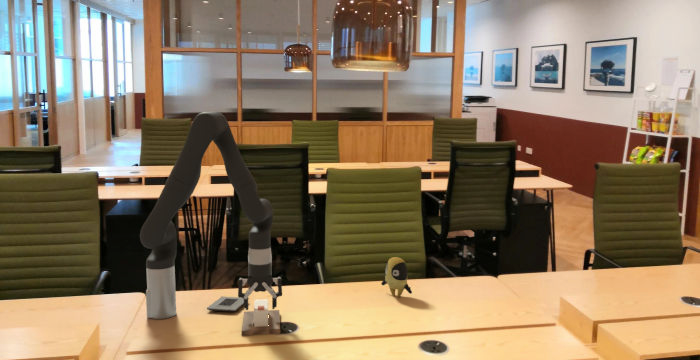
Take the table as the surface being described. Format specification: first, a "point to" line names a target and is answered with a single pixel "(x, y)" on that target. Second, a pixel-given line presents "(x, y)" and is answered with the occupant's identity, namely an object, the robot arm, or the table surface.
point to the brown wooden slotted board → (271, 329)
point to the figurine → (396, 276)
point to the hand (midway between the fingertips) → (260, 308)
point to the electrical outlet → (226, 304)
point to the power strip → (261, 313)
